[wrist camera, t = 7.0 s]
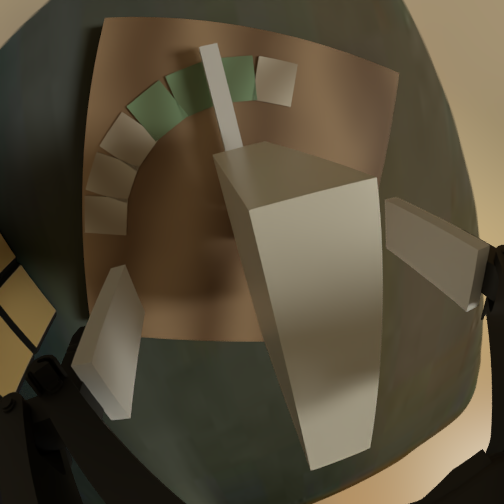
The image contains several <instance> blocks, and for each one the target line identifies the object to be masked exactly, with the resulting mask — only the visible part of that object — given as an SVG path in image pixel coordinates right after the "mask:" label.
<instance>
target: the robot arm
mask: <svg viewBox="0 0 504 504" xmlns="http://www.w3.org/2000/svg"><path fill="white" fill-rule="evenodd" d="M385 219H386V248H387V249H388V250H390V251H391V252H392V253H394V254H395V255H396V256H398V257H399V258H400V259H402V260H403V261H404V262H406V263H407V264H408V265H409V266H411V267H412V268H413V269H415V270H416V271H417V272H418V273H420V274H421V275H422V276H424V277H425V278H426V279H427V280H429V281H430V282H431V283H432V284H434V285H435V286H436V287H437V288H439V289H440V290H441V291H442V292H443V293H445V294H446V295H447V296H448V297H450V298H451V299H452V300H453V301H454V302H456V303H457V304H458V305H459V306H460V307H461V308H463V309H464V310H465V311H466V312H467V311H469V310H471V309H473V308H475V307H476V306H478V304H479V300H480V296H481V293H483V294H484V295H485V296H487V297H486V301H485V305H484V309H483V312H482V316H481V320H483V319H484V316H485V315H486V316H487V324H488V332H489V342H490V354H491V368H492V369H491V370H492V426H491V438H490V443H489V446H488V448H487V451H486V453H485V452H484V450H483V449H482V450H480V451H479V452H478V453H476V454H475V455H474V456H472V457H471V458H470V459H468V460H467V461H465V462H464V463H462V464H461V465H459V466H458V467H456V468H455V469H453V470H452V471H451V472H450V473H449V474H448V475H447V476H446V477H445V478H444V479H443V480H442V481H441V482H440V483H439V484H438V485H437V486H436V487H435V488H434V489H433V490H432V491H431V492H429V493H428V494H427V495H426V496H425V497H424V498H423V499H421V500H419V501H417V502H413V503H410V504H504V245H500V246H498V247H497V248H495V247H493V246H492V245H490V244H488V243H486V242H485V241H483V240H481V239H479V238H476V236H474V235H472V234H470V233H468V232H467V231H465V230H463V229H460V228H458V227H456V226H454V225H452V224H451V223H449V222H447V221H445V220H443V219H441V218H439V217H437V216H435V215H433V214H431V213H429V212H427V211H425V210H423V209H421V208H419V207H417V206H415V205H412V204H410V203H408V202H406V201H404V200H402V199H400V198H397V197H394V198H390V199H385ZM144 316H145V311H144V309H143V306H142V304H141V302H140V299H139V297H138V295H137V292H136V290H135V288H134V285H133V283H132V280H131V278H130V275H129V273H128V270H127V268H126V265H121V266H118V267H114V268H111V269H110V271H109V274H108V276H107V278H106V280H105V282H104V285H103V287H102V289H101V291H100V294H99V296H98V298H97V300H96V303H95V305H94V308H93V310H92V312H91V315H90V317H89V320H88V322H87V325H86V326H84V327H80V328H79V329H78V330H77V332H76V333H75V334H74V335H73V337H72V339H71V341H70V344H69V345H70V346H68V349H67V351H66V352H67V353H66V354H65V356H64V359H63V361H62V364H61V365H60V363H59V362H58V360H57V359H56V357H54V356H53V355H44V356H41V357H39V358H37V359H36V360H34V361H33V362H32V363H31V364H30V365H29V367H28V368H27V370H26V372H25V380H26V381H27V382H28V384H29V385H30V386H31V387H32V389H33V390H34V391H35V392H36V394H37V395H38V396H36V397H34V398H31V399H28V400H25V399H24V398H23V397H22V396H21V394H19V393H18V392H11V393H8V394H7V395H5V396H3V397H2V398H1V400H0V504H83V502H82V500H81V497H80V494H79V491H78V489H77V486H76V483H75V480H74V477H73V474H72V471H71V465H72V457H71V455H72V456H73V458H74V460H75V461H76V463H77V464H78V466H79V467H80V469H81V470H82V472H83V473H84V474H85V476H86V477H87V479H88V480H89V482H90V483H91V484H92V486H93V487H94V488H95V490H96V491H97V492H98V494H99V495H100V496H101V498H102V499H103V500H104V501H105V503H106V504H186V503H185V502H183V501H182V500H181V499H180V498H179V497H178V496H176V495H175V494H174V493H173V492H172V491H171V490H170V489H168V488H167V487H166V486H165V485H164V484H163V483H162V482H161V481H160V480H159V479H158V478H156V477H155V476H154V475H153V474H152V473H151V472H150V471H149V470H148V469H147V468H146V467H145V466H144V465H143V464H142V463H141V462H140V461H139V460H138V459H137V458H136V457H135V456H134V455H133V454H132V453H131V452H130V451H129V449H128V448H127V447H126V446H125V445H124V444H123V443H122V442H121V441H120V440H119V439H118V437H117V436H116V435H115V434H114V433H113V432H112V431H111V429H110V428H109V427H108V426H107V425H106V424H105V422H104V421H103V420H102V417H103V411H105V413H106V414H107V415H108V416H109V418H110V419H111V420H119V419H127V418H131V408H132V399H133V390H134V382H135V374H136V367H137V359H138V353H139V346H140V340H141V333H142V327H143V321H144ZM65 447H67V448H68V450H69V451H68V450H67V449H66V448H65ZM69 452H70V453H71V455H70V453H69Z"/></svg>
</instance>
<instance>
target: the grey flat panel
mask: <svg viewBox="0 0 504 504" xmlns="http://www.w3.org/2000/svg"><path fill="white" fill-rule="evenodd" d="M199 52H200V56H201V60H202V64H203V68H204V72H205V76H206V80H207V84H208V88H209V92H210V96H211V100H212V103H213V107H214V111H215V115H216V119H217V123H218V127H219V131H220V135H221V139H222V143H223V147H224V150H225V151H224V152H221V153H217V154H213V159H214V163H215V167H216V170H217V174H218V178H219V182H220V185H221V189H222V193H223V197H224V200H225V204H226V208H227V211H228V215H229V219H230V222H231V226H232V230H233V233H234V237H235V241H236V244H237V248H238V252H239V255H240V259H241V263H242V266H243V270H244V273H245V277H246V281H247V284H248V288H249V291H250V295H251V299H252V302H253V306H254V309H255V313H256V316H257V320H258V323H259V327H260V330H261V334H262V337H263V339H264V342H265V345H266V348H267V351H268V354H269V357H270V359H271V362H272V365H273V368H274V371H275V374H276V376H277V379H278V382H279V385H280V388H281V390H282V393H283V396H284V399H285V402H286V404H287V407H288V410H289V413H290V415H291V418H292V421H293V424H294V426H295V429H296V432H297V435H298V437H299V440H300V443H301V446H302V448H303V451H304V454H305V456H306V459H307V462H308V464H309V467H310V470H314V469H317V468H320V467H323V466H326V465H329V464H331V463H334V462H337V461H339V460H342V459H345V458H347V457H350V456H352V455H354V454H357V453H359V452H362V451H364V450H366V449H368V448H370V445H371V439H372V432H373V425H374V418H375V410H376V402H377V392H378V382H379V371H380V357H381V339H382V310H383V268H382V239H381V221H380V207H379V195H378V184H377V177H375V176H372V175H369V174H366V173H364V172H361V171H358V170H355V169H353V168H350V167H347V166H344V165H341V164H338V163H335V162H332V161H329V160H326V159H323V158H320V157H317V156H314V155H310V154H307V153H304V152H301V151H297V150H294V149H290V148H287V147H284V146H280V145H277V144H273V143H269V142H266V141H264V142H260V143H256V144H252V145H248V146H244V147H243V144H242V140H241V136H240V132H239V128H238V124H237V120H236V116H235V112H234V107H233V103H232V99H231V95H230V91H229V87H228V84H227V80H226V76H225V72H224V68H223V64H222V60H221V56H220V52H219V48H218V44H217V43H214V44H210V45H205V46H201V47H199Z"/></svg>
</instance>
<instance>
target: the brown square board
mask: <svg viewBox="0 0 504 504" xmlns="http://www.w3.org/2000/svg"><path fill="white" fill-rule="evenodd" d="M214 43H217V44H218V48H219V52H220V56H221V60H222V64H223V68H224V72H225V76H226V80H227V84H228V87H229V91H230V95H231V99H232V103H233V107H234V112H235V116H236V120H237V124H238V128H239V132H240V136H241V140H242V144H243V147H244V146H248V145H252V144H256V143H260V142H264V141H266V142H269V143H273V144H277V145H280V146H284V147H287V148H290V149H294V150H297V151H301V152H304V153H307V154H310V155H314V156H317V157H320V158H323V159H326V160H329V161H332V162H335V163H338V164H341V165H344V166H347V167H350V168H353V169H355V170H358V171H361V172H364V173H366V174H369V175H372V176H375V177H377V184H378V189H379V184H380V180H381V175H382V171H383V166H384V161H385V156H386V151H387V146H388V141H389V136H390V130H391V125H392V119H393V113H394V106H395V100H396V93H397V86H398V78H399V73H397V72H395V71H393V70H390V69H388V68H386V67H383V66H381V65H378V64H376V63H373V62H371V61H368V60H365V59H363V58H360V57H357V56H355V55H352V54H349V53H346V52H343V51H340V50H337V49H334V48H331V47H328V46H324V45H321V44H318V43H314V42H311V41H307V40H303V39H300V38H296V37H292V36H288V35H283V34H279V33H275V32H270V31H265V30H260V29H255V28H250V27H244V26H238V25H232V24H225V23H218V22H210V21H201V20H190V19H177V18H157V17H116V18H105V20H104V24H103V28H102V32H101V36H100V41H99V46H98V50H97V55H96V60H95V66H94V71H93V77H92V83H91V90H90V97H89V105H88V113H87V122H86V132H85V144H84V160H83V185H82V224H83V250H84V265H85V278H86V288H87V298H88V306H89V314H90V315H91V312H92V310H93V308H94V305H95V303H96V300H97V298H98V296H99V294H100V291H101V289H102V287H103V285H104V282H105V280H106V278H107V276H108V274H109V271H110V269H111V268H114V267H118V266H121V265H126V268H127V270H128V273H129V275H130V278H131V280H132V283H133V285H134V288H135V290H136V292H137V295H138V297H139V299H140V302H141V304H142V306H143V309H144V311H145V316H144V321H143V327H142V333H141V337H148V338H162V339H180V340H202V341H264V339H263V337H262V334H261V330H260V327H259V323H258V320H257V316H256V313H255V309H254V306H253V302H252V299H251V295H250V291H249V288H248V284H247V281H246V277H245V273H244V270H243V266H242V263H241V259H240V255H239V252H238V248H237V244H236V241H235V237H234V233H233V230H232V226H231V222H230V219H229V215H228V211H227V208H226V204H225V200H224V197H223V193H222V189H221V185H220V182H219V178H218V174H217V170H216V167H215V163H214V159H213V154H217V153H221V152H224V151H225V150H224V147H223V143H222V139H221V135H220V131H219V127H218V123H217V119H216V115H215V111H214V107H213V103H212V100H211V96H210V92H209V88H208V84H207V80H206V76H205V72H204V68H203V64H202V60H201V56H200V52H199V47H201V46H205V45H210V44H214Z"/></svg>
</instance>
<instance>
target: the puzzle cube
mask: <svg viewBox="0 0 504 504" xmlns="http://www.w3.org/2000/svg"><path fill="white" fill-rule="evenodd" d="M15 263H16V256H15V255H14V253H13V252H12V250H11V249H10V247H9V246H8V244H7V243H6V241H5V240H4V238H3V237H2V235H1V233H0V400H1V398H2V397H3V396H5V395H7V394H8V393H11V392H18V393H19V392H20V389H21V387H22V385H23V382H24V380H25V372H26V370H27V368H28V367H29V365H30V364H31V363H32V362H33V360H34V354H36V353H37V352H38V350H39V348H40V346H41V344H42V342H43V340H44V338H45V336H46V334H47V332H48V330H49V328H50V326H51V324H52V323H53V321H54V319H55V317H56V310H55V308H54V307H53V306H52V305H51V304H50V302H49V301H48V300H47V299H46V297H45V296H44V295H43V294H42V292H41V291H40V290H39V288H38V287H37V286H36V284H35V283H34V282H33V280H32V279H31V278H30V276H29V275H28V274H27V272H26V271H25V270H24V268H23V267H22V265H21V264H17V263H16V264H15Z"/></svg>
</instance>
